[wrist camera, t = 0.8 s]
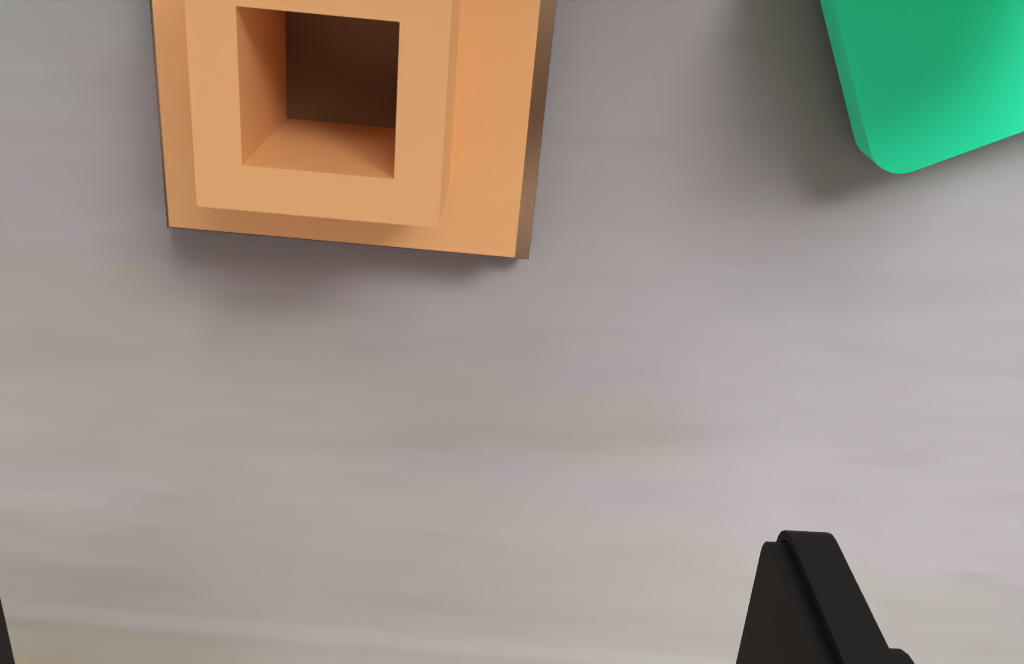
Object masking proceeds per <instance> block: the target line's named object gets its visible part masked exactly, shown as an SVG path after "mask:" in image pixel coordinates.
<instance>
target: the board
mask: <svg viewBox="0 0 1024 664" xmlns="http://www.w3.org/2000/svg"><path fill="white" fill-rule="evenodd" d="M555 7H556V0H540V10H539V20H538V30H537V40H536V50H535V60H534V70H533V80H532V90H531V100H530V110H529V120H528V130H527V140H526V150H525V160H524V170H523V180H522V190H521V200H520V210H519V220H518V230H517V240H516V250H515V257H508V258H519V259H529V251H530V241H531V232H532V223H533V213H534V204H535V194H536V185H537V176H538V166H539V157H540V148H541V138H542V129H543V120H544V110H545V101H546V92H547V82H548V73H549V64H550V54H551V45H552V35H553V26H554V17H555ZM150 8H151V21H152V34H153V47H154V60H155V73H156V86H157V99H158V112H159V125H160V138H161V151H162V164H163V176H164V189H165V202H166V215H167V227H169V217H168V204H167V191H166V178H165V165H164V152H163V139H162V126H161V113H160V100H159V87H158V73H157V60H156V47H155V34H154V21H153V8H152V0H150ZM399 28H400V22H396V21H385V20H375V19H365V18H354V17H344V16H334V15H323V14H313V13H303V12H292V11H285V34H286V97H287V118H290V119H300V120H311V121H322V122H333V123H343V124H354V125H365V126H376V127H386V128H396V111H397V83H398V56H399ZM172 228H179V227H172ZM183 229H190V228H183ZM194 230H201V229H194ZM205 231H212V230H205ZM217 232H223V231H217ZM228 233H235V232H228ZM239 234H246V233H239ZM250 235H257V234H250ZM261 236H268V235H261ZM273 237H280V236H273ZM284 238H291V237H284ZM295 239H302V238H295ZM306 240H313V239H306ZM317 241H324V240H317ZM329 242H336V241H329ZM340 243H347V242H340ZM351 244H358V243H351ZM362 245H369V244H362ZM374 246H380V245H374ZM385 247H392V246H385ZM396 248H403V247H396ZM407 249H414V248H407ZM418 250H425V249H418ZM430 251H436V250H430ZM441 252H448V251H441ZM452 253H459V252H452ZM463 254H470V253H463ZM474 255H481V254H474ZM486 256H493V255H486ZM497 257H504V256H497Z"/></svg>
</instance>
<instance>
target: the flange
mask: <svg viewBox="0 0 1024 664" xmlns="http://www.w3.org/2000/svg"><path fill="white" fill-rule="evenodd" d="M152 8H153V21H154V34H155V47H156V60H157V73H158V87H159V100H160V113H161V126H162V139H163V152H164V165H165V178H166V191H167V204H168V217H169V227H179V228H190V229H201V230H212V231H223V232H235V233H246V234H257V235H268V236H280V237H291V238H302V239H313V240H324V241H336V242H347V243H358V244H369V245H380V246H392V247H403V248H414V249H425V250H436V251H448V252H459V253H470V254H481V255H493V256H504V257H515V250H516V240H517V230H518V220H519V210H520V200H521V190H522V180H523V170H524V160H525V150H526V140H527V130H528V120H529V110H530V100H531V90H532V80H533V70H534V60H535V50H536V40H537V30H538V20H539V10H540V0H152ZM285 11H292V12H303V13H313V14H323V15H334V16H344V17H354V18H365V19H375V20H385V21H396V22H400V28H399V56H398V83H397V111H396V128H386V127H376V126H365V125H354V124H343V123H333V122H322V121H311V120H300V119H290V118H287V97H286V34H285Z"/></svg>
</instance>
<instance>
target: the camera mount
mask: <svg viewBox="0 0 1024 664" xmlns="http://www.w3.org/2000/svg"><path fill="white" fill-rule="evenodd" d="M820 3H821V7H822V11H823V15H824V19H825V23H826V27H827V31H828V35H829V39H830V43H831V47H832V51H833V55H834V59H835V63H836V67H837V71H838V75H839V79H840V83H841V87H842V91H843V95H844V99H845V103H846V107H847V111H848V115H849V119H850V124H851V128H852V132H853V136H854V139H855V142H856V145H857V146H858V148H859V149H860V150H861V151H862V152H863V153H864V154H865V155H866V156H867V157H869V158H870V159H871V160H872V161H873V162H875V163H876V164H877V165H878V166H879V167H881V168H882V169H884V170H886V171H888V172H891V173H897V174H903V173H909V172H913V171H916V170H919V169H921V168H924V167H927V166H930V165H932V164H935V163H938V162H941V161H943V160H946V159H949V158H952V157H954V156H957V155H960V154H963V153H965V152H968V151H971V150H974V149H976V148H979V147H982V146H985V145H987V144H990V143H993V142H996V141H998V140H1001V139H1004V138H1007V137H1009V136H1012V135H1015V134H1018V133H1021V132H1023V131H1024V0H820Z"/></svg>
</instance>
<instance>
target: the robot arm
mask: <svg viewBox="0 0 1024 664" xmlns="http://www.w3.org/2000/svg"><path fill="white" fill-rule="evenodd" d="M0 664H15V662H14V657H13V653H12V648H11V644H10V639H9V635H8V631H7V626H6V622H5V617H4V613H3V608H2V604H1V599H0ZM736 664H914V662H913V661H912V659H911V658H910V656H909V655H908V654H907V653H905V652H904V651H903V650H901V649H892V648H889V647H888V645H887V643H886V641H885V639H884V637H883V635H882V633H881V631H880V629H879V627H878V625H877V623H876V621H875V619H874V617H873V615H872V613H871V611H870V608H869V606H868V604H867V602H866V600H865V598H864V596H863V594H862V592H861V590H860V588H859V586H858V584H857V582H856V580H855V578H854V576H853V574H852V572H851V570H850V568H849V566H848V564H847V561H846V559H845V557H844V555H843V553H842V551H841V549H840V547H839V545H838V543H837V541H836V539H835V538H834V536H833V535H832V534H830V533H826V532H808V531H789V530H784V531H782V532H781V533H780V534H779V536H778V538H777V541H776V542H765V543H764V544H763V546H762V549H761V553H760V557H759V562H758V566H757V571H756V576H755V580H754V585H753V589H752V594H751V598H750V603H749V607H748V612H747V616H746V621H745V625H744V630H743V634H742V639H741V643H740V648H739V652H738V657H737V661H736Z"/></svg>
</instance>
